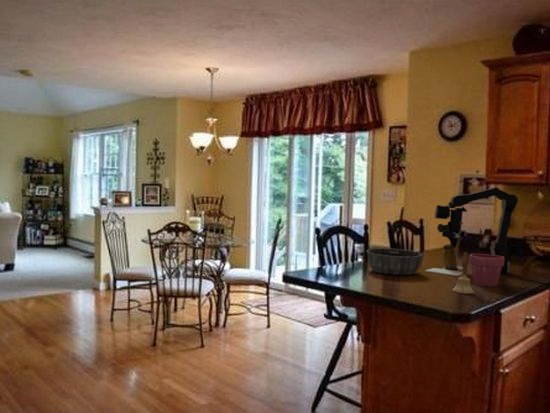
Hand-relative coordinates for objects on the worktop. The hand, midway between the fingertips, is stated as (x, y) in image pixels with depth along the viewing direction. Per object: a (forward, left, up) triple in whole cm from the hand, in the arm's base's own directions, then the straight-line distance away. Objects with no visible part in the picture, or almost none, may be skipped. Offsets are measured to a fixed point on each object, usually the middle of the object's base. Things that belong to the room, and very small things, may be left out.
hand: (453, 250), depth 267 cm
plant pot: (-25, +29, -10) cm, 39 cm away
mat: (-1, +12, -10) cm, 15 cm away
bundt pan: (+17, +32, -10) cm, 37 cm away
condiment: (-1, +2, -9) cm, 9 cm away
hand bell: (-23, +52, -10) cm, 57 cm away
